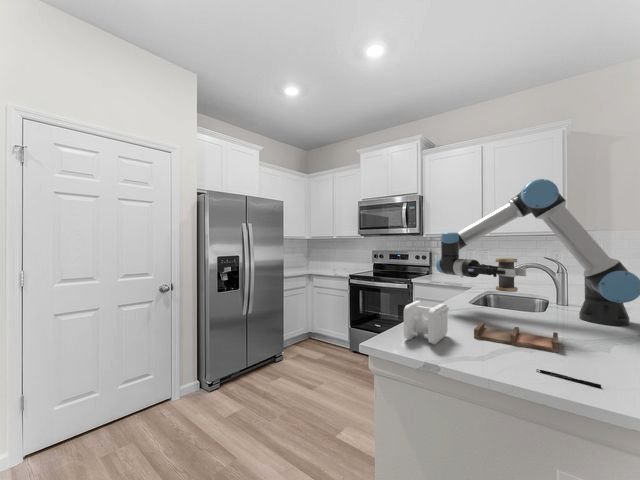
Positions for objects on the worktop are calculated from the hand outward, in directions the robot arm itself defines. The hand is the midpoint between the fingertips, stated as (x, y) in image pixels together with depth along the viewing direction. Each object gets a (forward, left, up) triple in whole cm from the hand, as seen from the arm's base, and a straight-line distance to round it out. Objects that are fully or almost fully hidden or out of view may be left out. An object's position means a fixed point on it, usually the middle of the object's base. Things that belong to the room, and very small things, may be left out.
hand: (519, 273), depth 111 cm
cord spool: (+5, -3, -7) cm, 9 cm away
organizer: (+24, +27, -22) cm, 43 cm away
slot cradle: (0, +11, -21) cm, 24 cm away
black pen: (-13, +37, -22) cm, 45 cm away
